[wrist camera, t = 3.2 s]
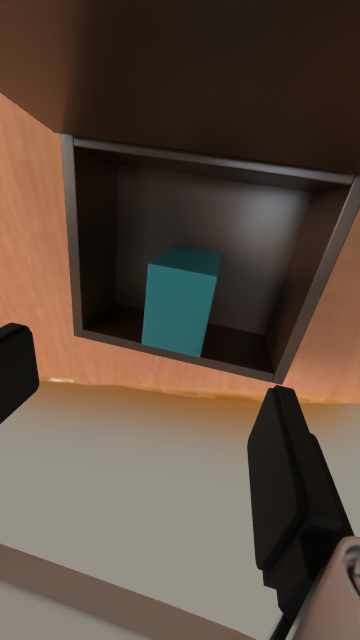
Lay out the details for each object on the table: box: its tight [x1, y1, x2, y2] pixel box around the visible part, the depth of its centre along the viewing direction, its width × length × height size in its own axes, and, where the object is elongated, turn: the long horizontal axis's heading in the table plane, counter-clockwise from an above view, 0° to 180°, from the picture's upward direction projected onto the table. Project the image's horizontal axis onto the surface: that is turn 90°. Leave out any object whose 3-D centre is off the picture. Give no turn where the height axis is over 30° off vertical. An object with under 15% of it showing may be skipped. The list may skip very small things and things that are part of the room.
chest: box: [61, 134, 360, 385], centre depth 18 cm, size 14×17×7 cm
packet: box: [142, 245, 222, 358], centre depth 18 cm, size 6×4×8 cm
